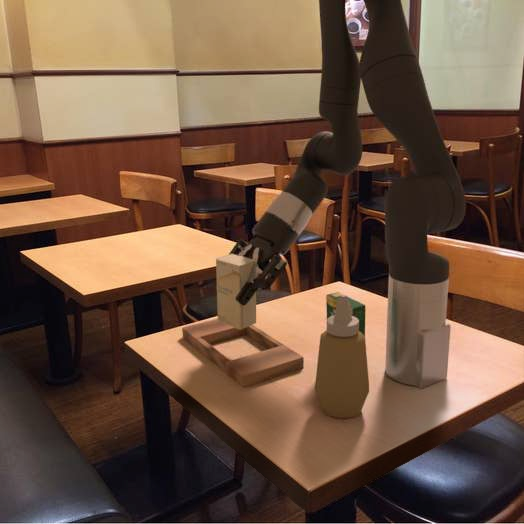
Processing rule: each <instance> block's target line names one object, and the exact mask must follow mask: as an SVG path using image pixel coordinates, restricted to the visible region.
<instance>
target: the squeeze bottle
mask: <svg viewBox="0 0 524 524" xmlns="http://www.w3.org/2000/svg"><path fill="white" fill-rule="evenodd" d="M348 297H349V296H348V295H347V294H344V295H340V296H339V299H338V303H337V307H336V311H335V315H333V316H330V317H329V318H328V319H327V318H326V330H325V331H323V332H322V333H321V334H320V337H319V338H320V339H319V345H318V347H319V348H318V354H317V355H318V356H317V364H316V372H315V373H316V375H315V383H314V390H315V393H316V396H317V398H318V400H319V404H320V406H321V408H322V410H323V412H324V413H325V414H327V415H328V416H330V417H333V418H336V419H337V418H339V419H347V418H349V419H350V418H353V417H356V416H357V415H359V414H360V413H361V412H362V409H363V407H364V405H365V402H366V400H367V397H368V395H369V392H370V382H369V381H370V379H369V369H368V366H369V365H368V358H367V356H368V355H367V345H366V335H365V336H364V335H363V334H362V333H361V332H360V331H359V320H358V319H357V318H356V317H354V316H351V311H350V306H349V301H348Z"/></svg>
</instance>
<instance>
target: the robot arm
mask: <svg viewBox="0 0 524 524" xmlns="http://www.w3.org/2000/svg"><path fill="white" fill-rule="evenodd" d="M346 2H347V0H318V7H319V22H320V23H319V25H320V38H321V76H320V86H319V87H320V88H319V101H318V113H319V116H320V117H321V118H322V119H323V120H325V121H327V123H329V125H330V127H331V131H332V132H331V131H321V132H320V131H319V132H318V133H316V134H315V135H313V136H312V137H310V139H309V141H308V142H307V143H306V145H305V147H304V149H303V152H302V154H301V157H300V159H299V161H298V164H297V166H296V169H295V173H294V174H293V176H292V177H291V179H290V180H289V181H288V183H287V184H286V186H285V187H284V188H283V189H282V191H281V193H279V194H278V195H277V197H276V198H275V199H274V200H273V201H272V203H270V205H269V206H268V208H267V209H266V210H265V212H264V213H263V214H262V215H261V217H260V219H259V220H258V221H257V222H256V224H255V225H254V226H253V228H252V230H251V231H252V232H251V233H252V235H253V238H252V239H250V241H248V242H247V241H246V240H244V239H243V238H239V239H238V240H237V241H236V243H235V245H234V246H233V247H232V249H231V250H230V252H229V253H228V255H229V254H235V255H239V256H243V257H247V258H250V259H253V260H255V262H254V264H253V266H252V267H251V275H250V278H249V283H248V282H246V284H245V285H244V287H243V288H242V289H241V291H240V292H239V293H238V295H237V296H236V298H235V300H236V301H237V302H239V303H240V304H241V305H243V306H245V305H246V304H247V303H248V302H249V301H250V299H251V298H252V296H253V295H254V294H255V292H256V293H257V291H258V290H260V291H261V289H264V290H269V289H270V288H271V286H272V285H273V284H274V283H275V281H276V280H277V279H278V277H279V276H280V275H281V274H282V272H283V271H284V270H285V268H286V267H287V265H288V262H287V261H286V260H285V259H284V258H283V257H282V256H280V255H286V254H287V253H288V252H289V250H290V248H292V246H293V245H294V243H295V242H296V240H297V239H298V238H299V237H300V236H301V234H302V232H303V231H304V229H305V228H306V226H307V225H308V223H309V222H310V220H311V217H312V216H313V214H314V213H315V211H316V210H317V209H318V208H319V206H320V205H321V203H322V202H323V201H324V199H325V198H326V196H327V194H328V186H327V184H326V182H325V181H324V180H323V179H322V178H321V177H322V174H323V173H324V172H325V171H327V172H330V173H333V174H336V175H338V176H349V175H351V174H352V173H354V172H355V171H356V170H357V169H358V167H359V166H360V162H361V160H362V157H363V141H362V134H361V133H362V132H361V131H362V130H361V126H360V118H359V114H358V113H359V112H358V108H359V100H360V90H361V83H362V87H363V89H364V90H363V91H364V94H365V99H366V101H367V105H368V107H369V108H370V111H371V112H372V113H373V115H374V117H375V118H376V119H377V120H378V122H380V123H381V124H382V126H383V127H384V128H385V129H386V130H387V131H388V132H389V133H390V134H391V136H392V137H394V138H395V140H396V141H397V142H398V143H399V144H400V146H402V148H403V149H404V151H405V152H406V155H407V156H408V158H409V160H410V163H411V165H412V167H413V172H414V174H412V175H411V174H410V175H403V176H400V177H397V178H396V179H394V180H393V181H392V182H391V183H390V185H389V187H388V190H387V192H386V197H385V202H384V203H385V204H384V223H385V224H384V225H385V227H384V228H385V229H384V231H385V255H386V258H387V263H388V287H387V291H388V292H387V293H388V294H387V310H386V311H387V315H386V319H387V320H386V341H385V342H386V344H385V366H384V368H385V369H384V370H385V374H386V375H387V376H388V377H389V378H390V379H392V380H394V381H396V382H398V383H402V384H405V385H411V386H415V387H418V388H419V389H423V388H426V387H428V386H429V385H432V384H435V383H437V382H440V381H443V380H446V379H447V378H448V370H449V368H448V367H449V357H450V356H449V352H450V342H451V341H450V339H451V324H449V323H448V322H447V309H448V308H447V306H448V293H449V279H450V262H449V259H448V258H447V257H445V256H444V255H442V254H440V253H436V252H433V251H430V250H429V247H428V246H429V245H428V235H429V234H430V235H431V234H435V233H441V232H446V231H451V230H454V229H456V228H457V227H458V226H460V224H461V223H462V222H463V220H464V217H465V215H466V209H467V208H466V207H467V203H466V195H465V191H464V187H463V185H462V182H461V178H460V176H459V173H458V172H457V171H458V170H457V169H456V166H455V165H454V163H453V160H452V158H451V155H450V153H449V150H448V148H447V146H446V144H445V141H444V139H443V135H442V133H441V131H440V128H439V127H440V126H439V124H438V122H437V119H436V115H435V113H434V109H433V106H432V104H431V100H430V97H429V93H428V91H427V87H426V83H425V79H424V78H425V77H424V75H423V71H422V69H421V66H420V62H419V61H420V60H419V59H418V56H417V52H416V50H415V48H414V45H413V40H412V36H411V34H410V32H409V31H410V30H409V26H408V23H407V19H406V14H405V13H404V8H403V3H402V0H363V3H364V5H365V9H366V12H367V13H366V14H367V18H368V31H367V33H366V34H367V35H366V39H365V40H364V45H363V48H362V51H361V54H360V59H359V57H358V54H357V51H356V48H355V46H354V43H353V40H352V37H351V35H350V31H349V27H348V24H347V23H348V22H347V16H346ZM268 275H269V277H268ZM267 278H268V279H267ZM266 279H267V280H266ZM215 288H216V289H217V283H216V284H215Z"/></svg>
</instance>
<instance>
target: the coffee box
mask: <svg viewBox="0 0 524 524" xmlns="http://www.w3.org/2000/svg"><path fill="white" fill-rule="evenodd" d="M340 295H345V294H344V293H341V292H339V291H338V292H333V293H328V294H326V296H325V298H326V300H325V301H326V303H325V305H326V320H327V319H328V318H329V317H330V316H333V315H335V311H336V307H337V303H338V299H339V296H340ZM347 297H348V301H349V306H350V311H351V316H354V317H356V318H357V319H358V320H359V331H360V332H361V333H362V334H363V335H364V336H365V337H366V304H363V303H362V302H360V301H358V300H355V299H354V298H351V297H349V296H347Z"/></svg>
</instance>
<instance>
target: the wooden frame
mask: <svg viewBox="0 0 524 524" xmlns="http://www.w3.org/2000/svg"><path fill="white" fill-rule="evenodd" d="M181 328H182V329H181V331H182V333H181V334H182V338H183V339H185V340H186V341H187V342H188V343H189V344H191V346H193V347H194V348H196V349H197V351H199V352H201V353H202V354H203V355H204V356H205V357H206V358H207V359H209V360H210V361H211V362H212V363H214V364H215V365H216V367H218V368H219V369H220V370H222V371H223V372H225V373H226V374H227V375H228V376H229V377H231V378H232V379H233V380H234V381H236V383H238V384H239V385H240V386H241V387H243V388H245V387H248V386H251V385H256V384H257V383H261V382H263V381H267V380H270V379H273V378H276V377H280V376H282V375H285V374H288V373H291V372H294V371H297V370H300V369H303V368H304V366H305V365H304V363H305V362H304V361H305V360H304V358H305V357H304V356H303V355H301V354H299V353H298V352H297V351H296V350H293V349H291V348H290V347H288V346H286V345H285V344H283V343H282V342H281V341H279V340H278V339H276V338H274V337H273V336H271V335H269V334H268V333H266V332H265V331H263V330H261V329H260V328H258V327H257V326H255V324H253V325H250V326H248V327H246V328H244V329H241V330H239V329H236V328H234V327H232V326H229V325H227V324H224V323H222V322H219V321H218V318H216V319H211V320H207V321H203V322H199V323H195V324H191V325H187V326H184V327H181ZM244 335H247V336H248V337H250V338H252V339H253V340H255V341H256V342H258V343H259V344H260V345H262V346H263V347H265V348H266V350H263V351H259V352H256V353H252V354H248V355H245V356H242V357H239V358H236V359H232V360H230V359H229V358H228V357H226V356H225V355H224V354H223V353H222V352H220V351H219V350H218V349H216V348H215V347H213V345H212V344H216V343H218V342H223V341H226V340H230V339H234V338H237V337H241V336H244Z"/></svg>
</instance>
